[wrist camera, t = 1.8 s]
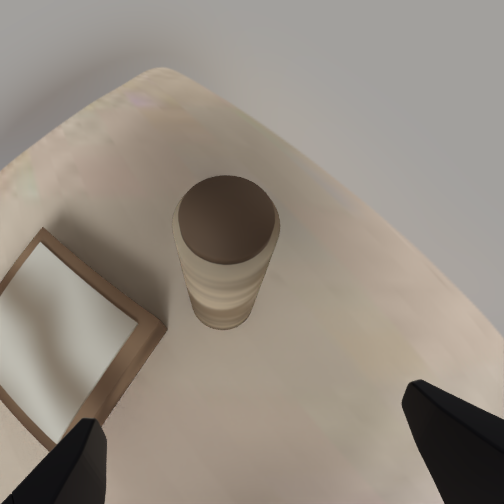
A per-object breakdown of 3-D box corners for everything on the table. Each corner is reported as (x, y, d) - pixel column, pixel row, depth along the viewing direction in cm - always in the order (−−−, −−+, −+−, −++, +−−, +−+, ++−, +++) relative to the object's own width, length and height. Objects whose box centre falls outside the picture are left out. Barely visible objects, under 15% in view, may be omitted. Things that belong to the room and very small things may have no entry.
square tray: (80, 457, 17) (61, 464, 14) (-18, 353, 18) (-41, 345, 16) (167, 329, 22) (159, 319, 19) (57, 244, 23) (41, 225, 20)
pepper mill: (231, 341, 22) (245, 288, 11) (179, 307, 22) (147, 227, 12) (264, 291, 24) (301, 202, 13) (213, 260, 24) (212, 155, 14)
